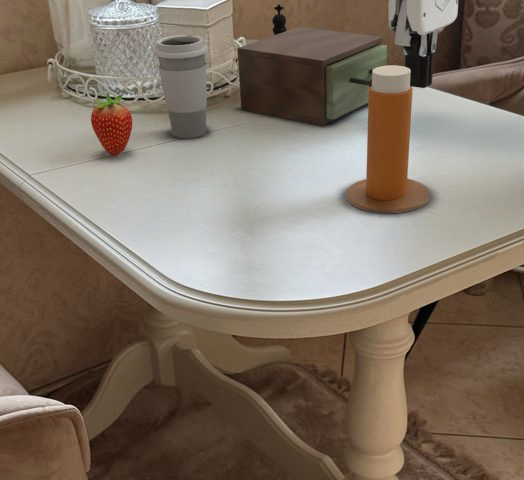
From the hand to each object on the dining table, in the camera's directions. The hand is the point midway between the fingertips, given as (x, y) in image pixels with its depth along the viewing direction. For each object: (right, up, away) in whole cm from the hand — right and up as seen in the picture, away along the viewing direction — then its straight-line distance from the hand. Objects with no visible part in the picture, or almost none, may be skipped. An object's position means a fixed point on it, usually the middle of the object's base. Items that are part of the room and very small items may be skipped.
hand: (418, 85), depth 104 cm
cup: (-30, -5, +4) cm, 31 cm away
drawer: (-10, +1, +10) cm, 14 cm away
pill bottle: (-7, -17, -17) cm, 25 cm away
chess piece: (-17, +13, +29) cm, 36 cm away
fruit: (-39, -10, -2) cm, 40 cm away
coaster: (-7, -18, -17) cm, 25 cm away
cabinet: (-13, +1, +12) cm, 18 cm away
